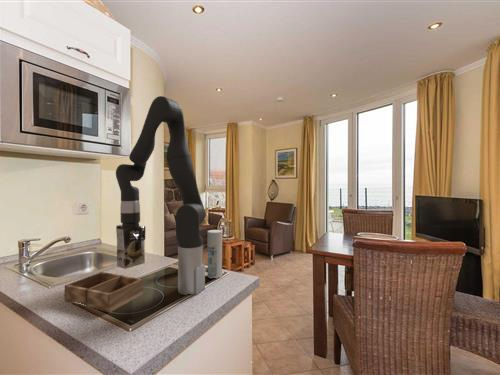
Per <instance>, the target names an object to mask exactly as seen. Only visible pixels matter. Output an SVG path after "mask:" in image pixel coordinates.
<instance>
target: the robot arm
mask: <svg viewBox="0 0 500 375" xmlns="http://www.w3.org/2000/svg"><path fill="white" fill-rule="evenodd" d="M162 123H165V124H166V125H167V129H168V131H169V142H168V143H169V144H168V146H167V150H166V163H167V166H168V170H169V174H170V177H171V178H172V180H173V182H174V184H175V185H176V187H177V189H178V190H179V192H180V195H181V199H182V203H183V205H182V204H181V206H179V208H177V209H176V214H175V217H174V218H175V221H174V222H175V237H176V240H177V246H178V247H177V251H178V252H177V292H178V293H179V294H181V295H184V296H186V295H187V294H191V295H198V294H199V293H201V292H202V291H203V290H204V289H206V288H205V287H206V273H205V272H206V264H205V263H204V262H203V260H204V257H203V256H204V255H203V254H204V253H203V252H204V250H203V249H204V247H203V246H204V239H203V237H202V236H201V234H200V225H202V224H203V223H204V221H205V220H206V209H205V206H204V204H203V201H202V198H201V195H200V192H199V188H198V184H197V178H196V173H195V169H194V165H193V160H192V156H191V153H190V149H189V144H188V143H189V142H188V138H187V134H186V126H185V125H186V124H185V117H184V111H183V108H182V106H181V104H180V103H179V102H177V101H175V100H173V99H171V98H168V97H166V96H161V95H160V96H159V95H158V96H157V97H155V98H154V99H153V100H152V102H151V104H150V106H149V108H148V111H147V114H146V118H145V121H144V123H143V125H142V129H141V133H140V134H139V137H138V139H137V141H136V142H135V145H134V146H133V148H132V150H131V151H130V154H129V155H128V158H129V160H130V161H131V162H132V163H133V164H125V163H123V164H122V163H121V164H119V165H117V167H116V171H115V177H116V181H117V184H118V187H119V190H120V206H119V209H120V213H119V214H120V223H121V224H118V225H116V228H115V230H116V232H115V233H117V228H134V231H135V232H136V230H137V229H138V231H139V234H137V235H135V234H134V233H133V238H134V239H135V251H140V250H141V241H143V240H146V226H145V225H140V222H141V204H140V190H139V188H138V187H136V186H133V185H132V183H131V182H137V181H139V180H141V179H143V176H144V174H145V170H146V166H147V162H148V160H149V159H150V157H151V155H152V154H153V152H154V150H155V145H156V144H155V143H156V132H157V130H158V128H159V127H160V126H161V124H162ZM137 236H138V237H139V239H138V238H137Z"/></svg>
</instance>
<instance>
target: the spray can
mask: <svg viewBox="0 0 500 375" xmlns="http://www.w3.org/2000/svg"><path fill="white" fill-rule="evenodd" d="M222 266H223V230H222V229H211V230H207V277H208V278H209V279H212V278H216V279H219V278H218V277H220V278H222V276H223V267H222Z"/></svg>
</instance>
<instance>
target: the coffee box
mask: <svg viewBox="0 0 500 375" xmlns="http://www.w3.org/2000/svg"><path fill="white" fill-rule="evenodd" d="M133 233H134V234H135V235H137V234H139V231H138V229H137V230H136V232H135V231H134V228H117V232H116V266H117V267H118V268H121V269H124V270H126V269H129V268H133V267H135V266H140V265H142V264H145V263H146V261H145V260H146V259H145V258H146V257H145V252H146V249H145V240H146V239H145V240H143V241H141V250H140V251H135V239H134V238H133ZM137 238H138V239H139V237H138V236H137Z"/></svg>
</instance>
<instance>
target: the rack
mask: <svg viewBox="0 0 500 375" xmlns="http://www.w3.org/2000/svg"><path fill="white" fill-rule="evenodd" d="M143 294H144V278H138V277H135V276H126V275H121V274H116V273H110V272H104V271H99V272H97V273H95V274H92V275H89V276H86V277H84V278H81V279H78V280H76V281H73V282H70V283H68V284H67V283H66V284H65V285H64V302H66V303H69V304H73V302H77V303H81V304H84V305H86V306H89V307H88V308H90V307H93V308H92V309H94V308H96V309H95V310H98V309H99V311H103V312H106V313H112V312H113V311H115V310H117V309H118V308H120V307H122V306H124V305H126V304H128V303H129V302H132V301H133V300H134V299H137V298H139V297H140V296H142V295H143ZM86 306H85V307H86Z"/></svg>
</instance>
